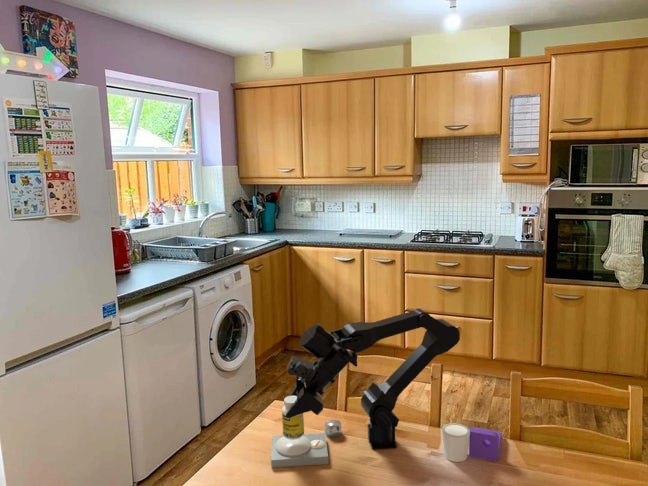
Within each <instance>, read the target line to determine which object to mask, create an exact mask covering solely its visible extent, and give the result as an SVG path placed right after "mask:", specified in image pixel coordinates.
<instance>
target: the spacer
mask: <svg viewBox="0 0 648 486" xmlns="http://www.w3.org/2000/svg"><path fill="white" fill-rule="evenodd" d="M324 433H325V437H326V438H330V439H333V438H339V437H340V436H341V435H342V422H341V421H340V420H338V419H333V418H332V419H329V420H326V421H325V422H324Z"/></svg>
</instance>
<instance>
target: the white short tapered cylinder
mask: <svg viewBox="0 0 648 486" xmlns="http://www.w3.org/2000/svg"><path fill="white" fill-rule="evenodd" d="M441 432H442V445H443V456H444V457H445V459H446V460H448V461H449V462H452V463H453V462H454V463H461V462H464V461H466V460H467V458H468V455H469V438H470V428H469V427H467V426H466V425H464V424H460V423H454V422H452V423H447V424H444V425H443V426H442V428H441Z"/></svg>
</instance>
